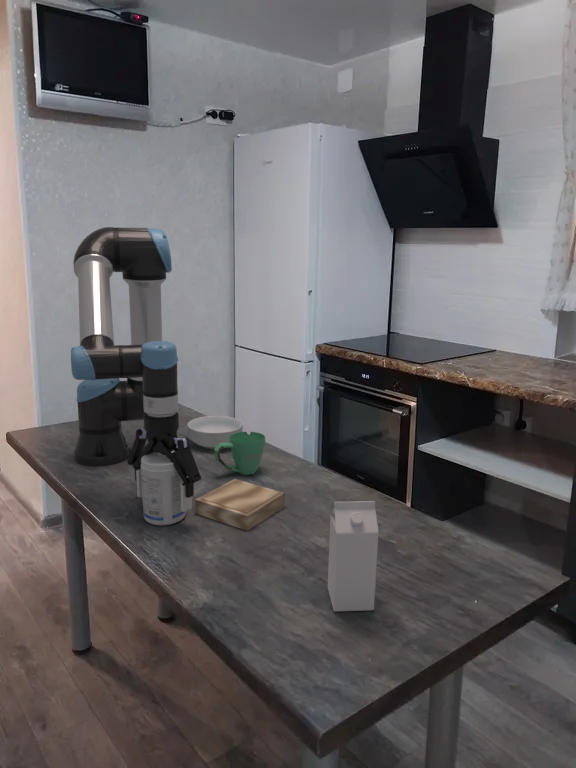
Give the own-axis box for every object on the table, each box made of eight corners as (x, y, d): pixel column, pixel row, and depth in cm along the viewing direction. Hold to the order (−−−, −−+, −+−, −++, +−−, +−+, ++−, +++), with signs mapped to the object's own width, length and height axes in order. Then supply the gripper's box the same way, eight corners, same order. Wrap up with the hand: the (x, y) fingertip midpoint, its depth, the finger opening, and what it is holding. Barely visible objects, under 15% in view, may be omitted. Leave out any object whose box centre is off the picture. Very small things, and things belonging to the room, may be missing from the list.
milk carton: (327, 589, 111) (331, 493, 106) (365, 588, 111) (370, 492, 107) (333, 612, 104) (337, 511, 99) (373, 611, 104) (379, 510, 100)
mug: (253, 462, 172) (254, 429, 170) (271, 474, 164) (272, 439, 162) (207, 472, 164) (206, 437, 162) (223, 484, 156) (223, 448, 154)
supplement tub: (179, 505, 144) (178, 447, 140) (191, 522, 136) (189, 460, 132) (138, 512, 140) (136, 453, 136) (148, 530, 132) (145, 467, 128)
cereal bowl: (177, 449, 181) (176, 427, 180) (203, 433, 197) (203, 413, 195) (228, 457, 176) (228, 434, 174) (251, 440, 191) (251, 419, 189)
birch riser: (195, 513, 140) (195, 499, 139) (234, 491, 152) (234, 478, 151) (247, 530, 132) (247, 515, 131) (284, 506, 144) (284, 492, 144)
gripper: (108, 407, 135) (113, 494, 140) (192, 426, 122) (194, 522, 127) (133, 400, 141) (137, 484, 146) (216, 418, 128) (217, 509, 133)
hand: (164, 502), depth 137 cm, fingers open, 13 cm apart
